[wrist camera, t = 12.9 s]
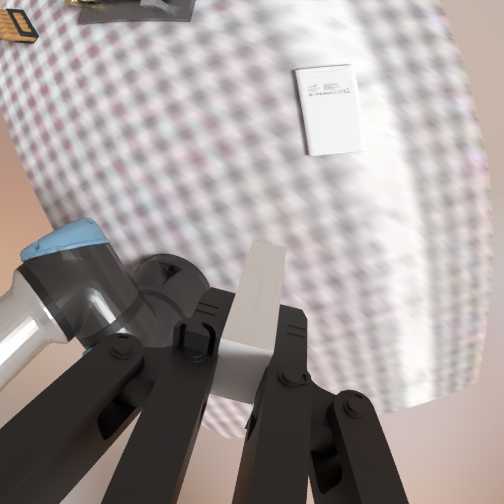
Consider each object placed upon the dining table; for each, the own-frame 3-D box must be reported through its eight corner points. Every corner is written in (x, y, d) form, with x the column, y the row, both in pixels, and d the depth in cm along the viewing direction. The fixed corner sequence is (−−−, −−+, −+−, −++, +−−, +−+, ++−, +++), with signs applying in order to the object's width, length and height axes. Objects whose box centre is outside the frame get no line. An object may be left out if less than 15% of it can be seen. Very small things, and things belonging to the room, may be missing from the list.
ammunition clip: (39, 36, 37) (-7, 34, 27) (33, 43, 38) (-12, 43, 27) (23, 9, 34) (-19, 6, 23) (18, 16, 35) (-24, 14, 24)
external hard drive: (308, 154, 44) (295, 71, 38) (364, 149, 42) (352, 65, 37) (309, 156, 42) (294, 69, 37) (366, 151, 40) (354, 64, 35)
